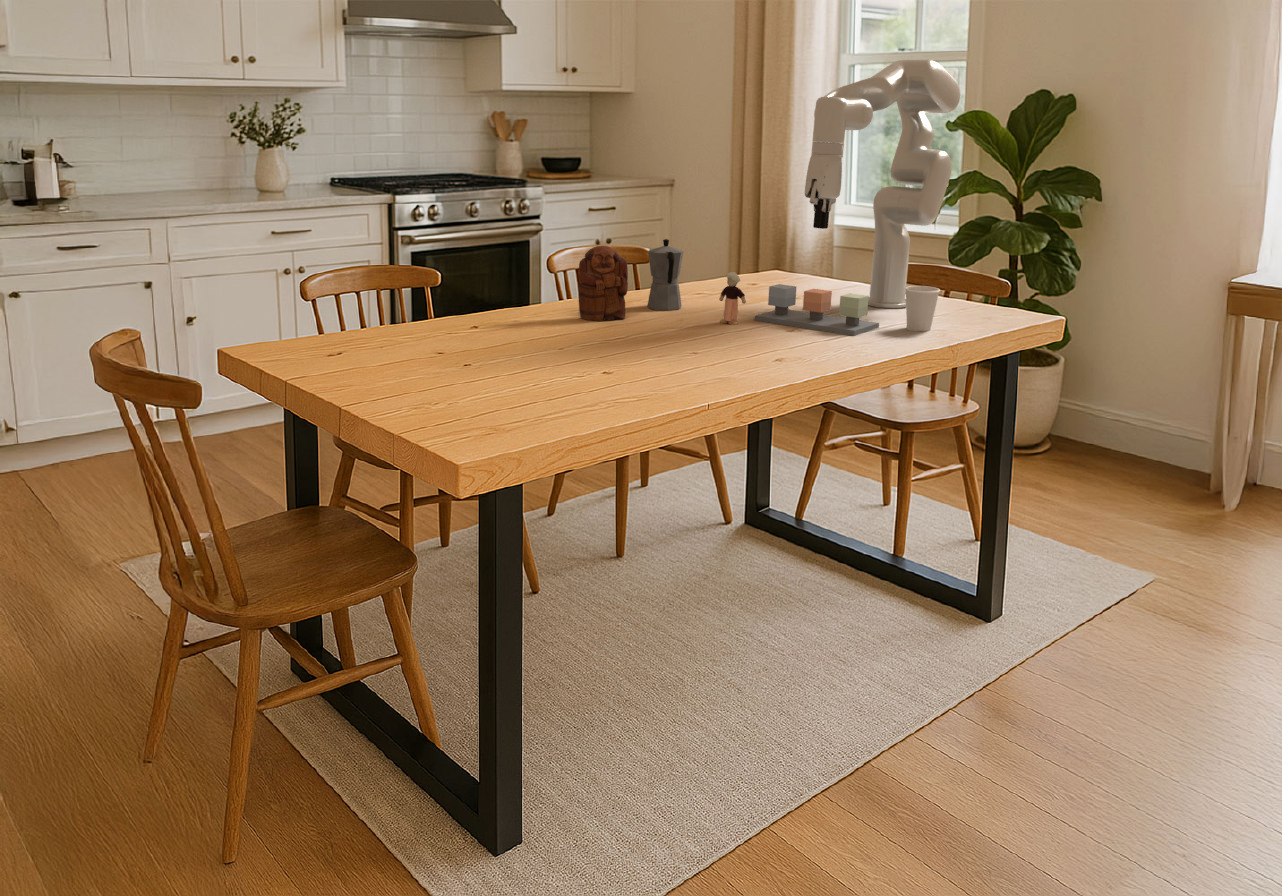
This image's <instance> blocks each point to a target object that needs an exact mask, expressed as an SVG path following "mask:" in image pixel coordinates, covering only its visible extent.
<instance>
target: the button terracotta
mask: <svg viewBox="0 0 1282 896" xmlns="http://www.w3.org/2000/svg"><path fill="white" fill-rule="evenodd" d="M832 295H833V293H832V290H827V289H820V288H819V289H818V288H812V289H807V290H803V301H802V302H803V303H802V310H803V311H805V312H810V311H813V312H820V313H821V312H823V313H824V312H828V311H831V308H832Z"/></svg>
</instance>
